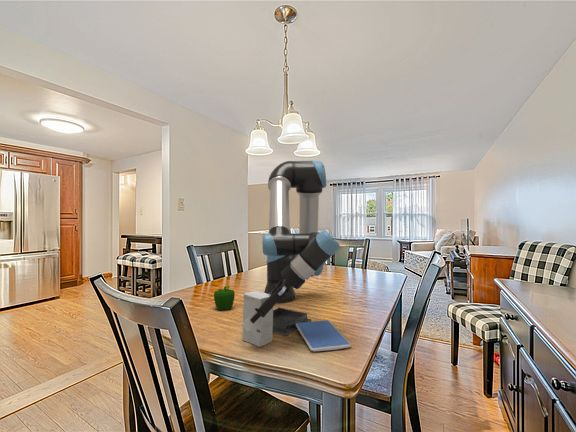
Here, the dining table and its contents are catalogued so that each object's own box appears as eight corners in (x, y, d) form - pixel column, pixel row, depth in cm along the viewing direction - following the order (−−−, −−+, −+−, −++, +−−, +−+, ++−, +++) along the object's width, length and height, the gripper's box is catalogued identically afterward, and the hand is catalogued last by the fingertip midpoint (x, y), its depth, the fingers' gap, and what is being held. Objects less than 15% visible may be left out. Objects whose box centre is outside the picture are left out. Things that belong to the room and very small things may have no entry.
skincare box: (242, 340, 93) (241, 293, 93) (255, 334, 97) (255, 289, 97) (260, 348, 87) (260, 298, 87) (274, 341, 92) (274, 293, 92)
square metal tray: (252, 326, 104) (251, 318, 104) (278, 313, 118) (278, 306, 118) (286, 336, 96) (286, 326, 96) (311, 321, 109) (311, 313, 109)
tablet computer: (294, 325, 102) (294, 322, 102) (328, 322, 105) (328, 319, 105) (311, 353, 83) (311, 349, 83) (352, 349, 86) (352, 344, 86)
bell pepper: (210, 309, 125) (210, 285, 125) (226, 304, 131) (226, 282, 131) (221, 313, 119) (221, 288, 119) (238, 308, 125) (237, 285, 125)
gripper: (306, 289, 80) (249, 346, 81) (306, 273, 102) (261, 318, 103) (286, 270, 81) (230, 326, 82) (291, 258, 102) (246, 303, 104)
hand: (247, 322), depth 93 cm, fingers closed on skincare box, 9 cm apart
